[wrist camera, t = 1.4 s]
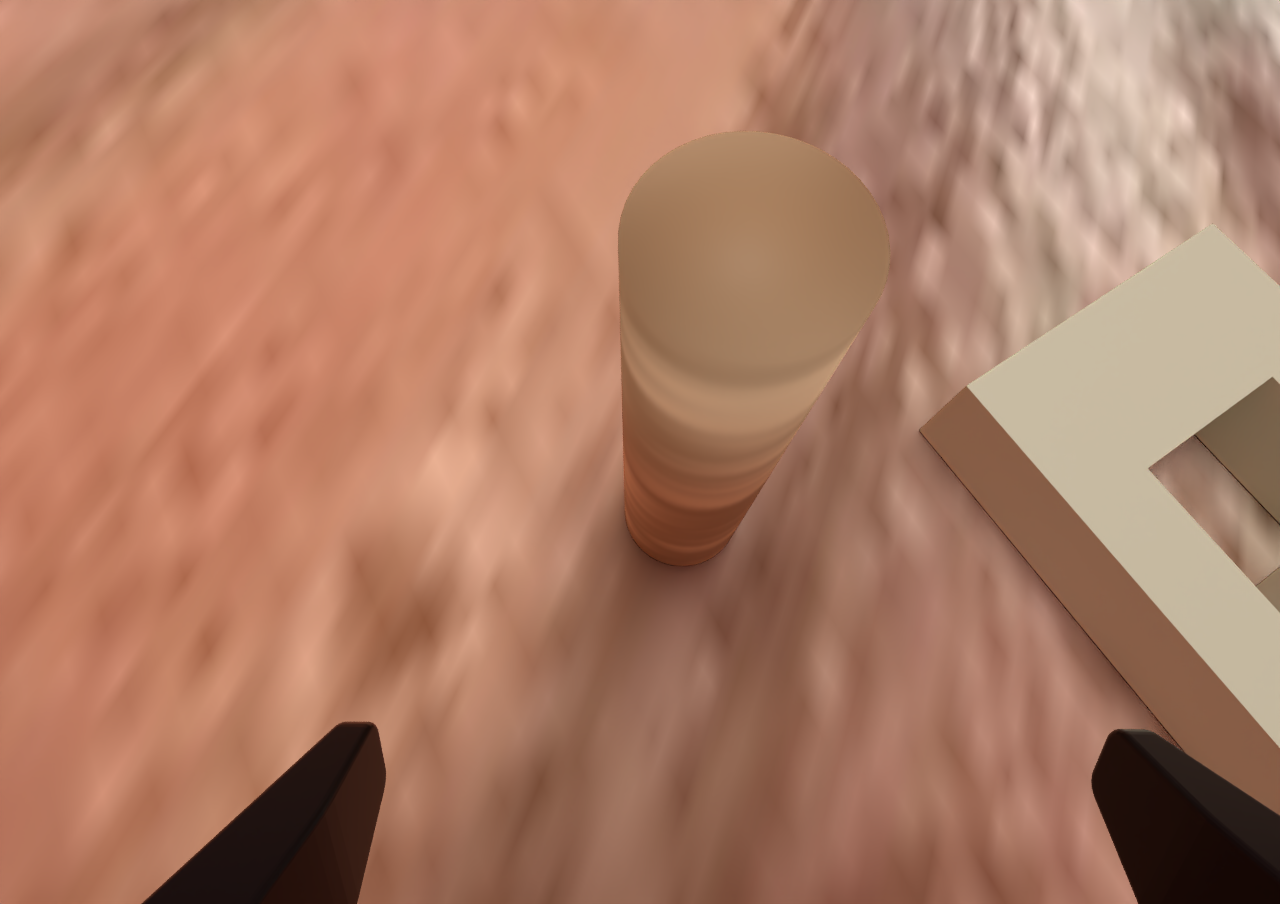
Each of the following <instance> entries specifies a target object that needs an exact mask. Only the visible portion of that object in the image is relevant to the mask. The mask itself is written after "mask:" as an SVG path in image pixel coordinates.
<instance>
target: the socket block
mask: <svg viewBox="0 0 1280 904" xmlns="http://www.w3.org/2000/svg"><path fill="white" fill-rule="evenodd" d="M919 431H920V432H921V433H922V434H923V436H924V437H925V438H926V439H927V440H928V442H929V443H930V444H931V445H932V446H933V448H934V449H935V450H936V451H937V452H938V454H939V455H940V456H941V457H942V459H943V460H944V461H945V462H946V463H947V465H948V466H949V467H950V468H951V469H952V471H953V472H954V473H955V474H956V475H957V477H958V478H959V479H960V480H961V482H962V483H963V484H964V485H965V486H966V488H967V489H968V490H969V491H970V492H971V494H972V495H973V496H974V497H975V499H976V500H977V501H978V502H979V503H980V505H981V506H982V507H983V508H984V509H985V511H986V512H987V513H988V514H989V515H990V517H991V518H992V519H993V520H994V522H995V523H996V524H997V525H998V526H999V528H1000V529H1001V530H1002V531H1003V532H1004V534H1005V535H1006V536H1007V537H1008V539H1009V540H1010V541H1011V542H1012V543H1013V545H1014V546H1015V547H1016V548H1017V549H1018V551H1019V552H1020V553H1021V554H1022V555H1023V557H1024V558H1025V559H1026V560H1027V562H1028V563H1029V564H1030V565H1031V566H1032V568H1033V569H1034V570H1035V571H1036V572H1037V574H1038V575H1039V576H1040V577H1041V578H1042V580H1043V581H1044V582H1045V583H1046V585H1047V586H1048V587H1049V588H1050V589H1051V591H1052V592H1053V593H1054V594H1055V595H1056V597H1057V598H1058V599H1059V600H1060V602H1061V603H1062V604H1063V605H1064V606H1065V608H1066V609H1067V610H1068V611H1069V612H1070V614H1071V615H1072V616H1073V617H1074V618H1075V620H1076V621H1077V622H1078V623H1079V625H1080V626H1081V627H1082V628H1083V629H1084V631H1085V632H1086V633H1087V634H1088V635H1089V637H1090V638H1091V639H1092V640H1093V642H1094V643H1095V644H1096V645H1097V646H1098V648H1099V649H1100V650H1101V651H1102V652H1103V654H1104V655H1105V656H1106V657H1107V658H1108V660H1109V661H1110V662H1111V663H1112V665H1113V666H1114V667H1115V668H1116V669H1117V671H1118V672H1119V673H1120V674H1121V675H1122V677H1123V678H1124V679H1125V680H1126V681H1127V683H1128V684H1129V685H1130V686H1131V688H1132V689H1133V690H1134V691H1135V692H1136V694H1137V695H1138V696H1139V697H1140V698H1141V700H1142V701H1143V702H1144V703H1145V705H1146V706H1147V707H1148V708H1149V709H1150V711H1151V712H1152V713H1153V714H1154V715H1155V717H1156V718H1157V719H1158V720H1159V721H1160V723H1161V724H1162V725H1163V726H1164V728H1165V729H1166V730H1167V731H1168V732H1169V734H1170V735H1171V736H1172V737H1173V738H1174V740H1175V741H1176V742H1177V743H1178V745H1179V746H1180V747H1181V748H1182V749H1183V751H1184V752H1185V753H1186V754H1188V755H1189V756H1191V757H1192V758H1194V759H1195V760H1197V761H1198V762H1200V763H1201V764H1203V765H1204V766H1206V767H1207V768H1209V769H1210V770H1212V771H1213V772H1215V773H1216V774H1218V775H1219V776H1221V777H1222V778H1224V779H1226V780H1227V781H1229V782H1230V783H1232V784H1233V785H1235V786H1236V787H1238V788H1239V789H1241V790H1242V791H1244V792H1245V793H1247V794H1248V795H1250V796H1251V797H1253V798H1254V799H1256V800H1257V801H1259V802H1260V803H1262V804H1263V805H1265V806H1266V807H1268V808H1269V809H1271V810H1273V811H1274V812H1276V813H1277V814H1279V815H1280V567H1279V568H1278V569H1277V570H1276V571H1274V572H1273V573H1272V574H1271V575H1269V576H1268V577H1267V578H1266V579H1264V580H1263V581H1262V582H1261V583H1260V584H1258V585H1257V586H1255V585H1254V584H1253V583H1252V582H1251V581H1250V580H1249V579H1248V578H1247V576H1246V575H1245V574H1244V573H1243V572H1242V571H1241V570H1240V569H1239V568H1238V567H1237V566H1236V564H1235V563H1234V562H1233V561H1232V560H1231V559H1230V558H1229V557H1228V556H1227V555H1226V554H1225V552H1224V551H1223V550H1222V549H1221V548H1220V547H1219V546H1218V545H1217V544H1216V543H1215V542H1214V540H1213V539H1212V538H1211V537H1210V536H1209V535H1208V534H1207V533H1206V532H1205V531H1204V530H1203V528H1202V527H1201V526H1200V525H1199V524H1198V523H1197V522H1196V521H1195V520H1194V519H1193V517H1192V516H1191V515H1190V514H1189V513H1188V512H1187V511H1186V510H1185V509H1184V508H1183V507H1182V505H1181V504H1180V503H1179V502H1178V501H1177V500H1176V499H1175V498H1174V497H1173V496H1172V495H1171V493H1170V492H1169V491H1168V490H1167V489H1166V488H1165V487H1164V486H1163V485H1162V484H1161V483H1160V481H1159V480H1158V479H1157V478H1156V477H1155V476H1154V475H1153V474H1152V473H1151V472H1150V471H1149V469H1148V468H1149V467H1150V466H1152V465H1153V464H1154V463H1156V462H1157V461H1158V460H1160V459H1161V458H1162V457H1164V456H1165V455H1167V454H1168V453H1169V452H1171V451H1172V450H1173V449H1175V448H1176V447H1177V446H1179V445H1180V444H1181V443H1183V442H1184V441H1186V440H1187V439H1188V438H1190V437H1191V436H1192V435H1194V434H1195V435H1196V436H1197V437H1198V438H1199V439H1200V440H1201V441H1202V443H1203V444H1204V445H1205V446H1206V447H1207V448H1208V449H1209V450H1210V451H1211V452H1212V453H1213V454H1214V455H1215V456H1216V457H1217V458H1218V459H1219V460H1220V461H1221V462H1222V464H1223V465H1224V466H1225V467H1226V468H1227V469H1228V470H1229V471H1230V472H1231V473H1232V474H1233V475H1234V476H1235V477H1236V478H1237V479H1238V480H1239V481H1240V482H1241V484H1242V485H1243V486H1244V487H1245V488H1246V489H1247V490H1248V491H1249V492H1250V493H1251V494H1252V495H1253V496H1254V497H1255V498H1256V499H1257V500H1258V501H1259V502H1260V503H1261V505H1262V506H1263V507H1264V508H1265V509H1266V510H1267V511H1268V512H1269V513H1270V514H1271V515H1272V516H1273V517H1274V518H1275V519H1276V520H1277V521H1278V522H1279V523H1280V286H1279V285H1278V284H1277V283H1276V282H1275V281H1274V280H1273V279H1272V278H1271V277H1270V276H1269V275H1267V274H1266V273H1265V272H1264V271H1263V270H1262V269H1261V268H1260V267H1259V266H1258V265H1257V264H1256V263H1255V262H1254V261H1253V260H1251V259H1250V258H1249V257H1248V256H1247V255H1246V254H1245V253H1244V252H1243V251H1242V250H1241V249H1240V248H1239V247H1238V246H1237V245H1236V244H1234V243H1233V242H1232V241H1231V240H1230V239H1229V238H1228V237H1227V236H1226V235H1225V234H1224V233H1223V232H1222V231H1221V230H1220V229H1218V228H1217V227H1216V226H1215V225H1214V224H1213V223H1212V224H1211V225H1209V226H1208V227H1206V228H1205V229H1203V230H1202V231H1200V232H1199V233H1197V234H1196V235H1194V236H1193V237H1191V238H1190V239H1188V240H1187V241H1185V242H1184V243H1182V244H1181V245H1179V246H1177V247H1176V248H1174V249H1173V250H1171V251H1170V252H1168V253H1167V254H1165V255H1164V256H1162V257H1161V258H1159V259H1158V260H1156V261H1155V262H1153V263H1152V264H1150V265H1149V266H1147V267H1146V268H1144V269H1143V270H1141V271H1140V272H1138V273H1137V274H1135V275H1134V276H1132V277H1131V278H1129V279H1128V280H1126V281H1124V282H1123V283H1121V284H1120V285H1118V286H1117V287H1115V288H1114V289H1112V290H1111V291H1109V292H1108V293H1106V294H1105V295H1103V296H1102V297H1100V298H1099V299H1097V300H1096V301H1094V302H1093V303H1091V304H1090V305H1088V306H1087V307H1085V308H1084V309H1082V310H1081V311H1079V312H1078V313H1076V314H1074V315H1073V316H1071V317H1070V318H1068V319H1067V320H1065V321H1064V322H1062V323H1061V324H1059V325H1058V326H1056V327H1055V328H1053V329H1052V330H1050V331H1049V332H1047V333H1046V334H1044V335H1043V336H1041V337H1040V338H1038V339H1037V340H1035V341H1034V342H1032V343H1031V344H1029V345H1028V346H1026V347H1024V348H1023V349H1021V350H1020V351H1018V352H1017V353H1015V354H1014V355H1012V356H1011V357H1009V358H1008V359H1006V360H1005V361H1003V362H1002V363H1000V364H999V365H997V366H996V367H994V368H993V369H991V370H990V371H988V372H987V373H985V374H984V375H982V376H981V377H979V378H978V379H976V380H974V381H973V382H971V383H970V384H968V385H967V386H966V387H965V388H964V389H962V390H961V391H960V392H959V393H958V394H957V395H956V396H955V397H954V398H953V399H952V400H951V401H950V402H949V403H947V404H946V405H945V406H944V407H943V408H942V409H941V410H940V411H939V412H938V413H937V414H936V415H935V416H934V417H932V418H931V419H930V420H929V421H928V422H927V423H926V424H925V425H924V426H923V427H922V428H921V429H920V430H919Z"/></svg>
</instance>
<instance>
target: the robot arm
mask: <svg viewBox="0 0 1280 904" xmlns="http://www.w3.org/2000/svg"><path fill="white" fill-rule="evenodd" d="M385 781H386V768H385V763H384V758H383V753H382V748H381V742H380V737H379V732H378V729H377V727H376V725H375V724H374V723H371V722H342V723H340V724H338V725H336V726H335V727H334V728H333V729H332V730H331V731H330V732H329V733H327V734H326V735H325V736H324V737H323V738H322V739H321V740H320V741H319V742H318V743H317V744H315V745H314V746H313V747H312V748H311V749H310V750H309V751H308V752H307V753H306V754H304V755H303V756H302V757H301V758H300V759H299V760H298V761H297V762H296V763H295V764H294V765H292V766H291V767H290V768H289V769H288V770H287V771H286V772H285V773H284V774H283V775H282V776H280V777H279V778H278V779H277V780H276V781H275V782H274V783H273V784H272V785H271V786H270V787H268V788H267V789H266V790H265V791H264V792H263V793H262V794H261V795H260V796H259V797H258V798H256V799H255V800H254V801H253V802H252V803H251V804H250V805H249V806H248V807H247V808H246V809H244V810H243V811H242V812H241V813H240V814H239V815H238V816H237V817H236V818H235V819H234V820H232V821H231V822H230V823H229V824H228V825H227V826H226V827H225V828H224V829H223V830H222V831H220V832H219V833H218V834H217V835H216V836H215V837H214V838H213V839H212V840H211V841H210V842H208V843H207V844H206V845H205V846H204V847H203V848H202V849H201V850H200V851H199V852H198V853H196V854H195V855H194V856H193V857H192V858H191V859H190V860H189V861H188V862H187V863H186V864H184V865H183V866H182V867H181V868H180V869H179V870H178V871H177V872H176V873H175V874H174V875H172V876H171V877H170V878H169V879H168V880H167V881H166V882H165V883H164V884H163V885H162V886H160V887H159V888H158V889H157V890H156V891H155V892H154V893H153V894H152V895H151V896H150V897H148V898H147V899H146V900H145V901H144V902H143V903H142V904H357V902H358V898H359V894H360V889H361V885H362V881H363V877H364V873H365V868H366V864H367V860H368V856H369V852H370V847H371V843H372V839H373V835H374V831H375V826H376V822H377V818H378V814H379V810H380V805H381V801H382V797H383V793H384V788H385ZM1091 782H1092V790H1093V794H1094V797H1095V800H1096V802H1097V805H1098V807H1099V809H1100V812H1101V814H1102V817H1103V819H1104V822H1105V824H1106V826H1107V829H1108V831H1109V834H1110V836H1111V839H1112V841H1113V843H1114V846H1115V848H1116V851H1117V853H1118V856H1119V858H1120V860H1121V863H1122V865H1123V868H1124V870H1125V873H1126V875H1127V877H1128V880H1129V882H1130V885H1131V887H1132V890H1133V892H1134V894H1135V897H1136V899H1137V902H1138V904H1280V815H1279V814H1277V813H1276V812H1274V811H1273V810H1271V809H1269V808H1268V807H1266V806H1265V805H1263V804H1262V803H1260V802H1259V801H1257V800H1256V799H1254V798H1253V797H1251V796H1250V795H1248V794H1247V793H1245V792H1244V791H1242V790H1241V789H1239V788H1238V787H1236V786H1235V785H1233V784H1232V783H1230V782H1229V781H1227V780H1226V779H1224V778H1222V777H1221V776H1219V775H1218V774H1216V773H1215V772H1213V771H1212V770H1210V769H1209V768H1207V767H1206V766H1204V765H1203V764H1201V763H1200V762H1198V761H1197V760H1195V759H1194V758H1192V757H1191V756H1189V755H1188V754H1186V753H1185V752H1183V751H1182V750H1180V749H1179V748H1177V747H1176V746H1174V745H1172V744H1171V743H1169V742H1168V741H1166V740H1165V739H1163V738H1162V737H1160V736H1159V735H1157V734H1155V733H1154V732H1151V731H1149V730H1144V729H1117V730H1114V731H1112V732H1111V733H1110V734H1109V735H1108V737H1107V739H1106V742H1105V744H1104V746H1103V749H1102V751H1101V754H1100V756H1099V758H1098V761H1097V763H1096V766H1095V768H1094V770H1093V773H1092V780H1091Z"/></svg>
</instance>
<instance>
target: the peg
mask: <svg viewBox="0 0 1280 904" xmlns="http://www.w3.org/2000/svg"><path fill="white" fill-rule="evenodd" d="M618 262H619V301H620V340H621V380H622V419H623V458H624V498H625V518H626V523H627V527H628V530H629V532H630V534H631V536H632V538H633V540H634V541H635V542H636V544H637V545H638V546H639V547H640V548H641V549H642V550H643V551H644V552H645V553H646V554H647V555H649V556H650V557H652V558H654V559H655V560H657V561H660V562H662V563H665V564H669V565H675V566H690V565H695V564H699V563H702V562H704V561H707V560H709V559H710V558H712V557H714V556H715V555H716V554H718V553H719V552H720V551H721V550H722V549H723V548H724V547H725V545H726V544H727V543H728V542H729V540H730V538H731V537H732V535H733V533H734V532H735V530H736V529H737V527H738V525H739V524H740V522H741V521H742V519H743V517H744V516H745V514H746V513H747V511H748V509H749V508H750V506H751V505H752V503H753V501H754V500H755V498H756V497H757V495H758V493H759V492H760V490H761V489H762V487H763V485H764V484H765V482H766V481H767V479H768V477H769V476H770V474H771V473H772V471H773V469H774V468H775V466H776V465H777V463H778V461H779V460H780V458H781V457H782V455H783V453H784V452H785V450H786V449H787V447H788V445H789V444H790V442H791V441H792V439H793V437H794V436H795V434H796V433H797V431H798V429H799V428H800V426H801V425H802V423H803V421H804V420H805V418H806V417H807V415H808V413H809V412H810V410H811V408H812V407H813V405H814V404H815V402H816V400H817V399H818V397H819V396H820V394H821V392H822V391H823V389H824V388H825V386H826V384H827V383H828V381H829V380H830V378H831V376H832V375H833V373H834V372H835V370H836V368H837V367H838V365H839V364H840V362H841V360H842V359H843V357H844V356H845V354H846V352H847V351H848V349H849V348H850V346H851V344H852V343H853V341H854V340H855V338H856V336H857V335H858V333H859V332H860V330H861V328H862V327H863V325H864V324H865V322H866V320H867V319H868V317H869V316H870V314H871V312H872V311H873V309H874V307H875V306H876V304H877V302H878V300H879V298H880V297H881V295H882V292H883V289H884V286H885V284H886V281H887V276H888V271H889V266H890V244H889V236H888V231H887V228H886V224H885V220H884V218H883V216H882V213H881V211H880V209H879V206H878V205H877V203H876V201H875V200H874V198H873V196H872V195H871V193H870V192H869V190H868V189H867V188H866V187H865V185H864V184H863V183H862V182H861V180H860V179H859V178H858V177H857V176H856V175H855V174H854V173H853V172H852V171H851V170H850V169H849V168H847V167H846V166H845V165H843V164H842V163H841V162H840V161H838V160H837V159H836V158H834V157H833V156H831V155H829V154H828V153H826V152H824V151H823V150H821V149H819V148H817V147H814V146H812V145H810V144H808V143H806V142H803V141H800V140H797V139H794V138H791V137H787V136H783V135H779V134H774V133H767V132H759V131H735V132H724V133H719V134H714V135H709V136H705V137H702V138H699V139H696V140H692V141H690V142H688V143H686V144H684V145H681V146H679V147H677V148H675V149H674V150H672V151H671V152H669V153H667V154H666V155H664V156H663V157H662V158H660V159H659V160H658V161H656V162H655V163H654V164H653V165H652V166H651V167H650V168H649V169H648V170H647V171H646V172H645V173H644V174H643V175H642V176H641V177H640V179H639V180H638V182H637V183H636V184H635V186H634V187H633V189H632V191H631V193H630V194H629V196H628V198H627V200H626V203H625V206H624V208H623V211H622V214H621V219H620V224H619V230H618Z"/></svg>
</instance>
